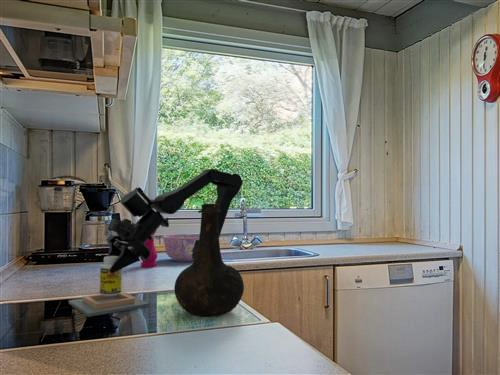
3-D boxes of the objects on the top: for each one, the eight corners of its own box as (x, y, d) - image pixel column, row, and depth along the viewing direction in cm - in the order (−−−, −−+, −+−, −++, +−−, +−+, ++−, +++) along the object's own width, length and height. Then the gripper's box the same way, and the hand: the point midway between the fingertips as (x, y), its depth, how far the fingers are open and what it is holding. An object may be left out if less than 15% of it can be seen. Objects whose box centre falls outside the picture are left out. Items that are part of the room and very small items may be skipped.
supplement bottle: (95, 296, 106) (97, 258, 106) (104, 291, 112) (105, 254, 112) (116, 297, 106) (117, 258, 106) (124, 292, 111) (125, 255, 111)
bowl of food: (194, 264, 177) (194, 238, 178) (154, 262, 183) (154, 237, 183) (210, 258, 197) (211, 235, 197) (173, 256, 202) (174, 233, 202)
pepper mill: (152, 268, 167) (153, 220, 167) (136, 267, 168) (137, 220, 169) (159, 265, 174) (160, 219, 174) (144, 264, 175) (145, 219, 176)
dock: (125, 295, 119) (125, 288, 119) (149, 306, 107) (149, 298, 107) (68, 303, 109) (68, 296, 109) (88, 316, 97) (88, 308, 97)
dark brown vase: (218, 328, 90) (220, 203, 91) (158, 315, 98) (160, 202, 99) (256, 309, 105) (257, 203, 106) (201, 300, 114) (203, 203, 115)
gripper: (113, 207, 119) (73, 247, 111) (140, 209, 105) (97, 255, 97) (137, 232, 124) (101, 272, 116) (167, 237, 110) (128, 283, 102)
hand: (106, 270), depth 108 cm, fingers closed on supplement bottle, 5 cm apart
